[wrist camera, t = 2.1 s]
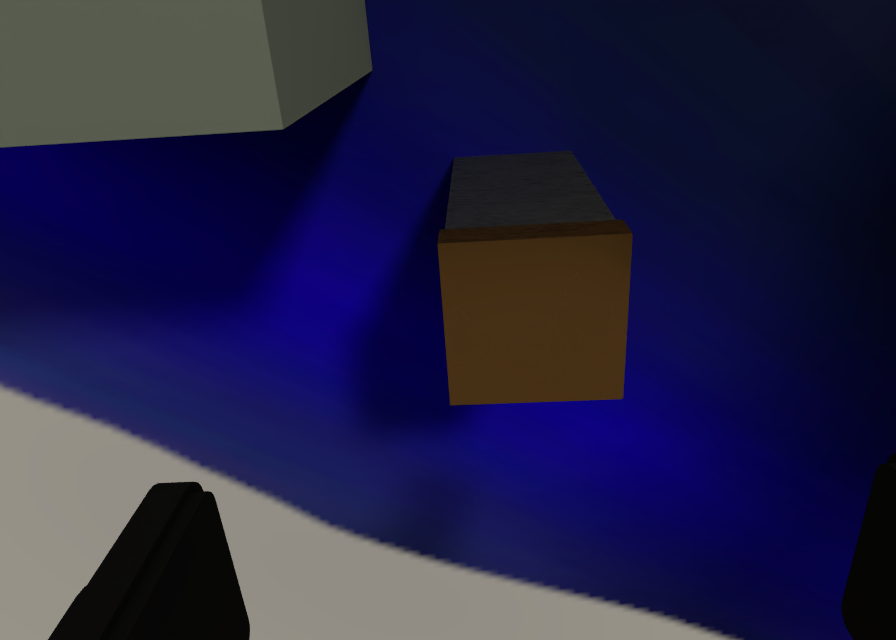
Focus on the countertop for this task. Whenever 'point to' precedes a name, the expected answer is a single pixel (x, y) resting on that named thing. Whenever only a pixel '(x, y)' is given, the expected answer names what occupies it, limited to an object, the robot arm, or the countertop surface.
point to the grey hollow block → (171, 66)
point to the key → (532, 282)
